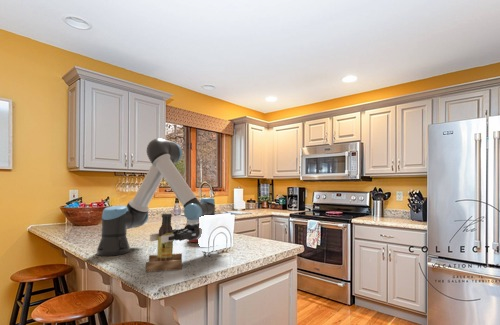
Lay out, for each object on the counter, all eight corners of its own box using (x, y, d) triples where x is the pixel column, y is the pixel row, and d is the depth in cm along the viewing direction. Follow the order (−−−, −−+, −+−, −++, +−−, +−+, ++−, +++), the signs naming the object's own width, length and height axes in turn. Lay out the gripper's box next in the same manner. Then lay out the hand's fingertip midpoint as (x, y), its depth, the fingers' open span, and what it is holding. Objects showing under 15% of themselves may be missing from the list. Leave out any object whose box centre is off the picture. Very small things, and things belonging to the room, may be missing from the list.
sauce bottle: (162, 263, 117) (163, 214, 119) (154, 261, 121) (155, 214, 123) (175, 260, 122) (176, 213, 124) (167, 258, 126) (168, 212, 128)
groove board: (145, 271, 114) (145, 262, 114) (149, 262, 126) (149, 255, 127) (181, 269, 117) (181, 260, 117) (181, 260, 130) (181, 253, 130)
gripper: (209, 241, 133) (172, 250, 113) (179, 237, 143) (140, 245, 123) (209, 224, 133) (172, 231, 113) (180, 222, 143) (141, 227, 123)
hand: (156, 238), depth 118 cm, fingers closed on sauce bottle, 6 cm apart
